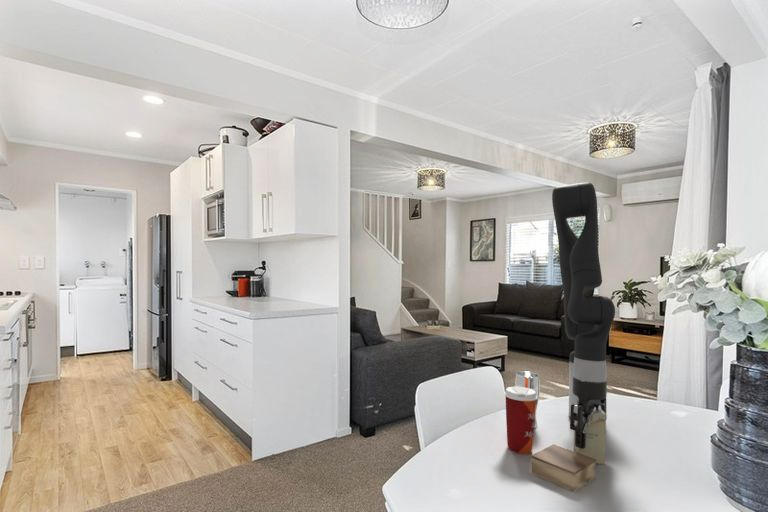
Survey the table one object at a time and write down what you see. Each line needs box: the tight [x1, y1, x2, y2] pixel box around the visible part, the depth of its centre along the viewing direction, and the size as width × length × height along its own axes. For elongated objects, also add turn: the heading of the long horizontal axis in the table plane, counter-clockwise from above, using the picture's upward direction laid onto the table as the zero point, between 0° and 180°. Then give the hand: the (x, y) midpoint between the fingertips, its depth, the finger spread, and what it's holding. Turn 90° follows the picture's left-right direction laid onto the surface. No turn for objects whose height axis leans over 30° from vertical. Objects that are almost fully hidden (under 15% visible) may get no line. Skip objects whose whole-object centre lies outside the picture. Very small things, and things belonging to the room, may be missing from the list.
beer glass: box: [514, 370, 541, 429], centre depth 126 cm, size 7×7×15 cm
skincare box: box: [573, 409, 607, 465], centre depth 104 cm, size 6×4×12 cm
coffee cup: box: [503, 386, 538, 455], centre depth 110 cm, size 8×8×15 cm
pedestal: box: [530, 443, 597, 493], centre depth 96 cm, size 10×10×4 cm
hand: (588, 443), depth 104 cm, fingers open, 8 cm apart
